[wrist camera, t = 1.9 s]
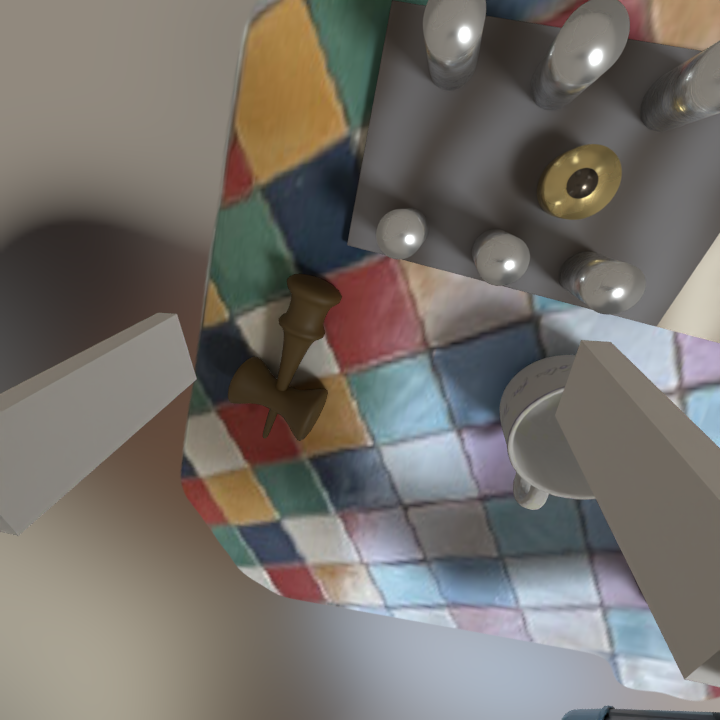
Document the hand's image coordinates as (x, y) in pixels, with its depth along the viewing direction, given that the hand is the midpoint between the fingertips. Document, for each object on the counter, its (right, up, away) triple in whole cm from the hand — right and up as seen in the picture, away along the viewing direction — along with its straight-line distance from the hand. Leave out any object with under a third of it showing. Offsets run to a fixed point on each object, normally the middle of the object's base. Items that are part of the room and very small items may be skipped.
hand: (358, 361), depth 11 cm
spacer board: (+19, +12, +13) cm, 26 cm away
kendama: (-7, 0, +26) cm, 27 cm away
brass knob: (+15, +13, +13) cm, 24 cm away
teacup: (+18, -4, +21) cm, 28 cm away
